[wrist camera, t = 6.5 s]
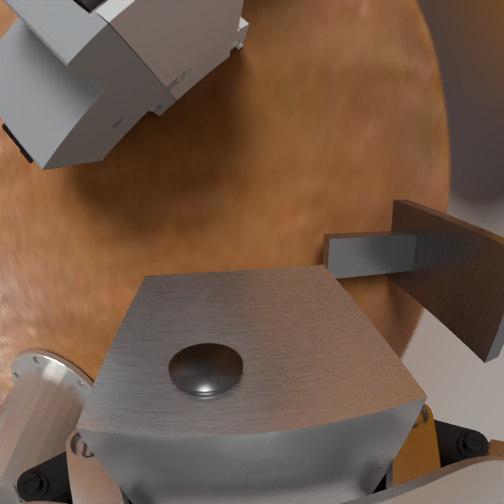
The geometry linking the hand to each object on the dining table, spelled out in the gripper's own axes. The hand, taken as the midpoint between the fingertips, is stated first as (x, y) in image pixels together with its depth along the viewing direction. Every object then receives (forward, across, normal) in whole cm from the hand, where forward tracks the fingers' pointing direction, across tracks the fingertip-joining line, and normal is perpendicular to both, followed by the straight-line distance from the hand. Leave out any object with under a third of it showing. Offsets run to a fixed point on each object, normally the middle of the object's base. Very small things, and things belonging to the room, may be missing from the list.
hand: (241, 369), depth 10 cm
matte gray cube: (+1, 0, 0) cm, 1 cm away
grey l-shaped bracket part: (+14, -11, 0) cm, 18 cm away
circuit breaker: (+15, +6, -14) cm, 21 cm away
